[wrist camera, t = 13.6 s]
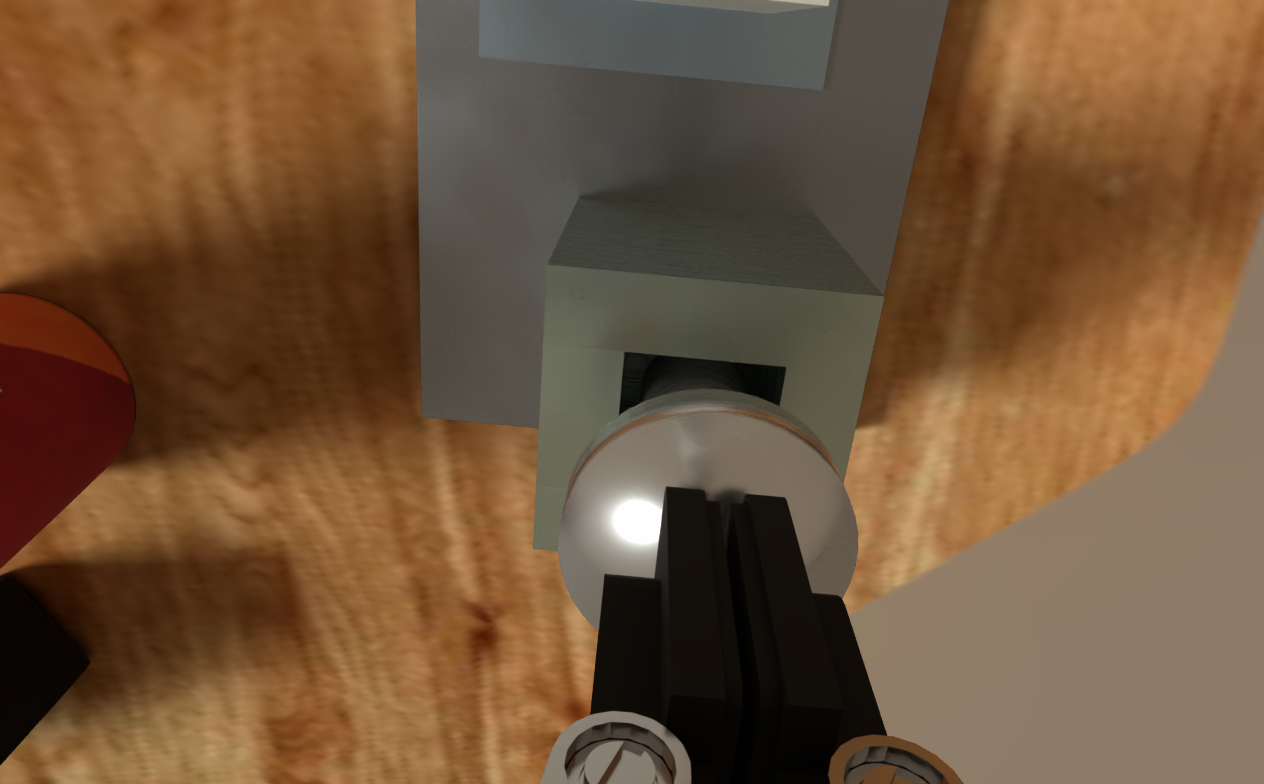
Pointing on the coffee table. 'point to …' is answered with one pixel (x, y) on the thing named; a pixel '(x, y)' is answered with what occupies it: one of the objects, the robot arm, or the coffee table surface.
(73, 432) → the coffee cup
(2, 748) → the electronic device
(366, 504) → the coffee table surface
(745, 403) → the pin
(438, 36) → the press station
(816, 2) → the block
